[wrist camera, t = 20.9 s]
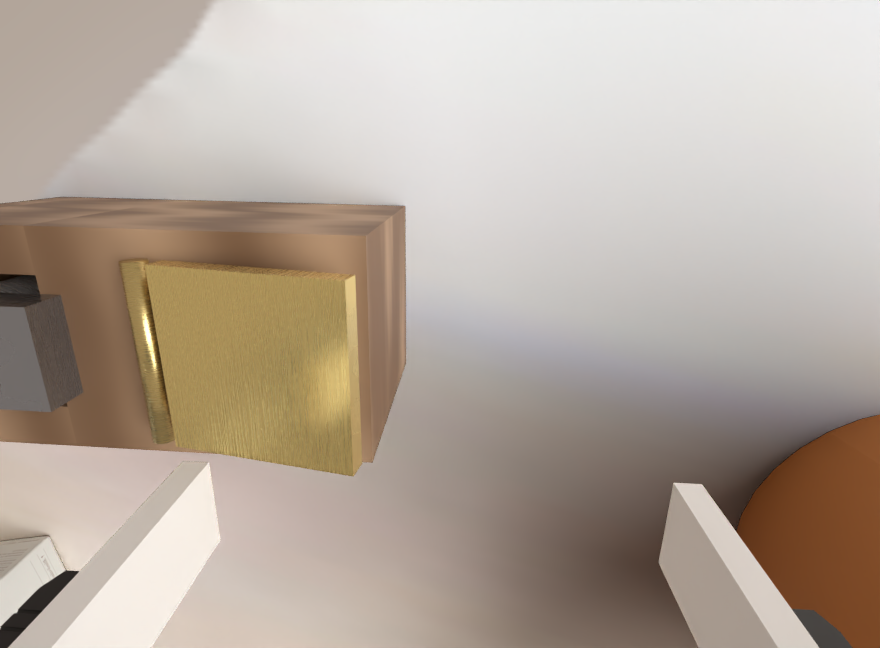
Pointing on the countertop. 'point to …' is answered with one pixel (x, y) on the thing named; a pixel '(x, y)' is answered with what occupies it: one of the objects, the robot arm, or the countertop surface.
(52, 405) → the grey block
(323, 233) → the socket block
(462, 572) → the countertop surface
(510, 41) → the countertop surface
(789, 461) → the flowerpot
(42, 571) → the supplement box
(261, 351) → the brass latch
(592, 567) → the countertop surface
